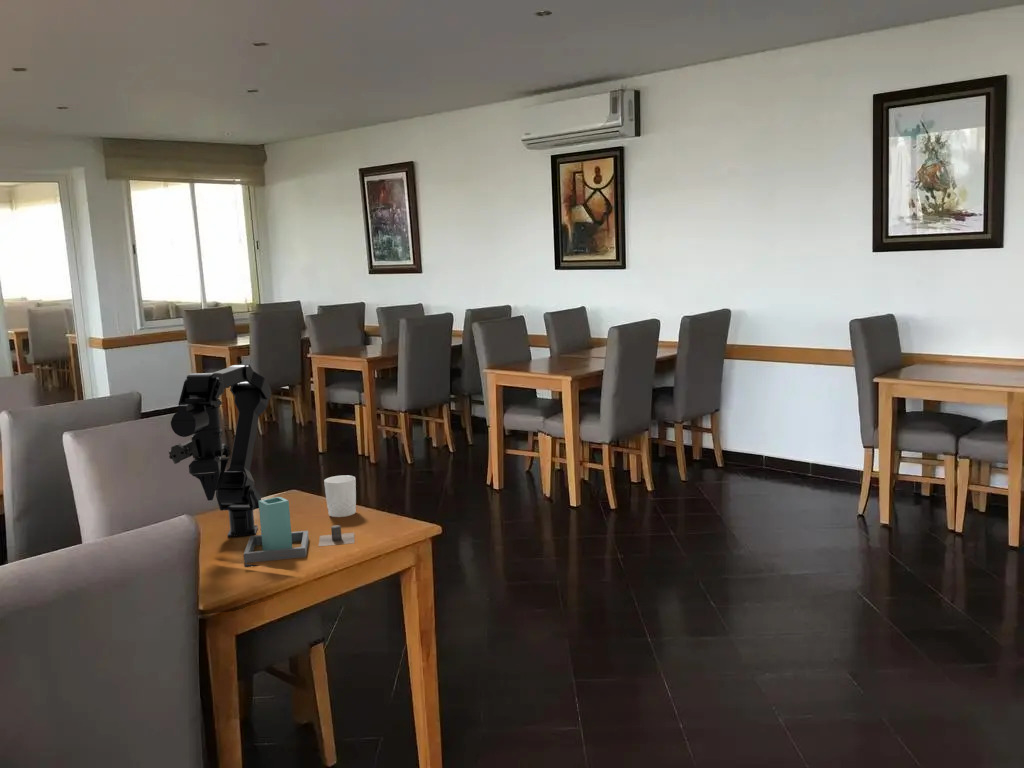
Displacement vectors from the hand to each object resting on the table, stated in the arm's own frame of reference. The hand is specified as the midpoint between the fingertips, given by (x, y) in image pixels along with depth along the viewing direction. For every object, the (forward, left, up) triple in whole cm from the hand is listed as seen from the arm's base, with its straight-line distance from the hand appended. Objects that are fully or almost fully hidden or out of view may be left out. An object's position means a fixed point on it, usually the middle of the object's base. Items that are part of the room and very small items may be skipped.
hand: (213, 495), depth 198 cm
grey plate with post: (+4, +27, -13) cm, 30 cm away
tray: (+8, +14, -13) cm, 21 cm away
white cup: (-18, +28, -13) cm, 36 cm away
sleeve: (+8, +14, -12) cm, 20 cm away
